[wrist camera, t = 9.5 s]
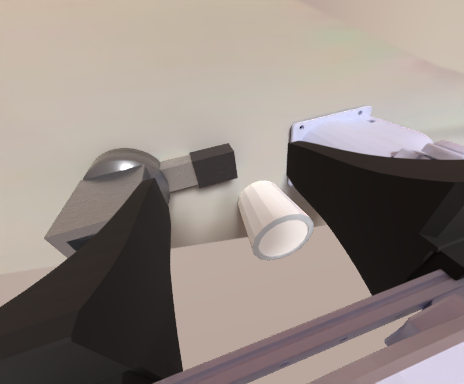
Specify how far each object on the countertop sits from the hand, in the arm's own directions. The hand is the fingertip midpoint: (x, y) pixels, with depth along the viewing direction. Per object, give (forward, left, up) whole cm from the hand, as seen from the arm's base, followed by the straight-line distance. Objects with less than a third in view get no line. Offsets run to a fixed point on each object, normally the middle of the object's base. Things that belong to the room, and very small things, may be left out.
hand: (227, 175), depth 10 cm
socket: (+8, +4, -7) cm, 11 cm away
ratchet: (+5, +4, -9) cm, 11 cm away
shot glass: (-5, +11, -10) cm, 15 cm away
